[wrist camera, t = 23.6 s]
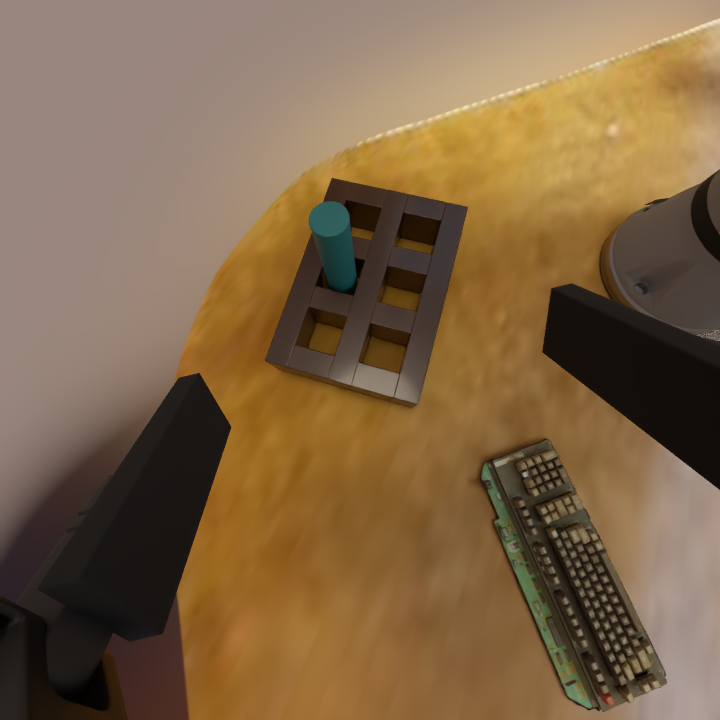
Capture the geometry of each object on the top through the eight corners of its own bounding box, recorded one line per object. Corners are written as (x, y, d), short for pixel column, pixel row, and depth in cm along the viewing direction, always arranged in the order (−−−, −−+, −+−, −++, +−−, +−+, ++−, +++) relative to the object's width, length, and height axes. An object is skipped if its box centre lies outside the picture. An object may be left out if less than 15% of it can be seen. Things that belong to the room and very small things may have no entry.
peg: (361, 283, 37) (354, 205, 24) (353, 307, 36) (342, 240, 23) (336, 276, 37) (316, 197, 24) (328, 300, 36) (303, 231, 24)
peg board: (457, 232, 37) (468, 206, 33) (412, 408, 33) (418, 405, 29) (336, 205, 39) (331, 177, 35) (278, 369, 35) (264, 360, 30)
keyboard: (667, 677, 27) (690, 697, 25) (573, 715, 26) (589, 738, 25) (550, 436, 32) (561, 436, 30) (469, 466, 31) (475, 468, 29)
